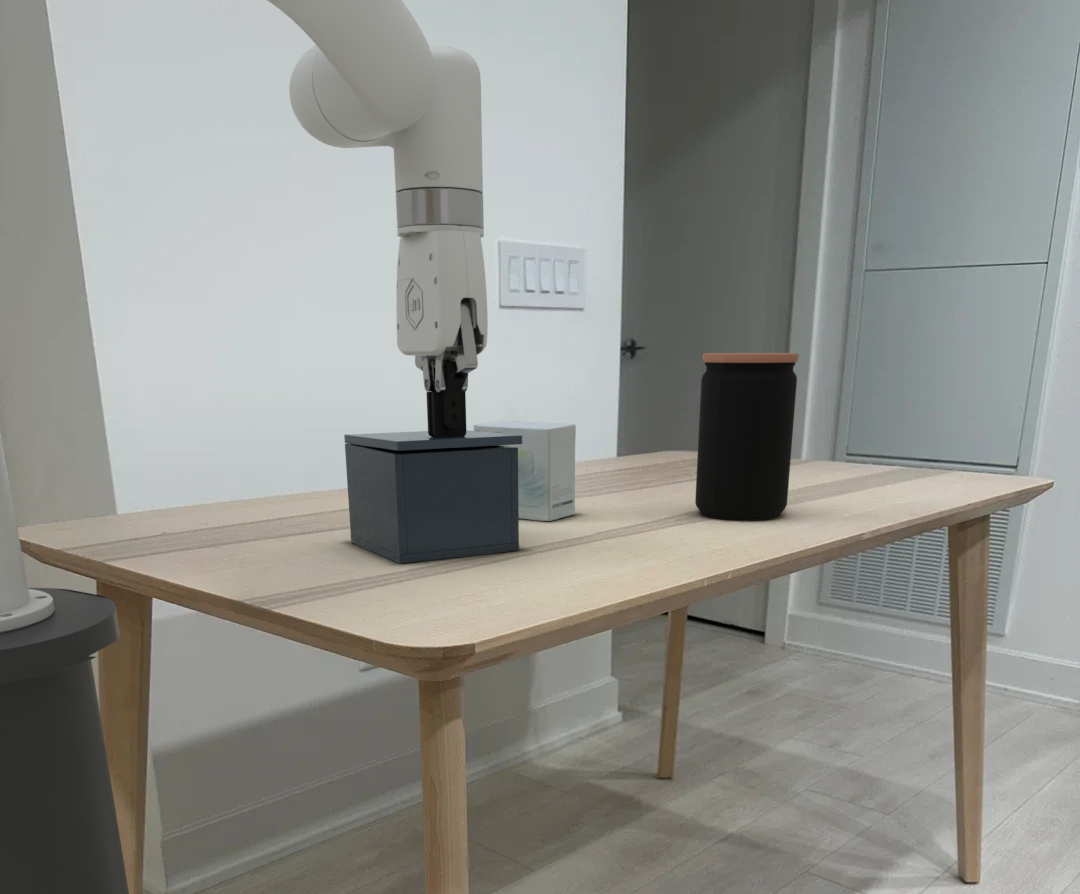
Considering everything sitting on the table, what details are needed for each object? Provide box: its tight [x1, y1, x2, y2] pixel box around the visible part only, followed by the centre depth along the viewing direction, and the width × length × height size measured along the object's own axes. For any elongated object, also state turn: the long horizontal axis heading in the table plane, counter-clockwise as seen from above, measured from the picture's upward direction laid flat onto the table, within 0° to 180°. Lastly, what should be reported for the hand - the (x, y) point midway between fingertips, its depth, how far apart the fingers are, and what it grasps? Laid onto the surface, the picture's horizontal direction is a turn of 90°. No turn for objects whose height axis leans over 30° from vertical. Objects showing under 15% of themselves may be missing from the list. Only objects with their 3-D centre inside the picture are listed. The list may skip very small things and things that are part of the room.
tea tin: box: [344, 443, 520, 565], centre depth 100 cm, size 13×13×10 cm
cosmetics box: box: [473, 420, 577, 522], centre depth 119 cm, size 10×6×10 cm, turn 58°
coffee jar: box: [694, 352, 800, 522], centre depth 117 cm, size 11×11×18 cm
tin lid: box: [343, 429, 522, 451], centre depth 97 cm, size 13×13×1 cm
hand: (447, 436), depth 94 cm, fingers closed
